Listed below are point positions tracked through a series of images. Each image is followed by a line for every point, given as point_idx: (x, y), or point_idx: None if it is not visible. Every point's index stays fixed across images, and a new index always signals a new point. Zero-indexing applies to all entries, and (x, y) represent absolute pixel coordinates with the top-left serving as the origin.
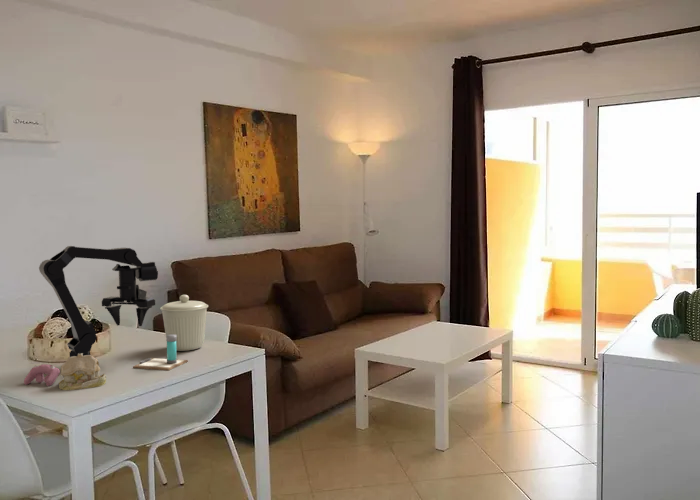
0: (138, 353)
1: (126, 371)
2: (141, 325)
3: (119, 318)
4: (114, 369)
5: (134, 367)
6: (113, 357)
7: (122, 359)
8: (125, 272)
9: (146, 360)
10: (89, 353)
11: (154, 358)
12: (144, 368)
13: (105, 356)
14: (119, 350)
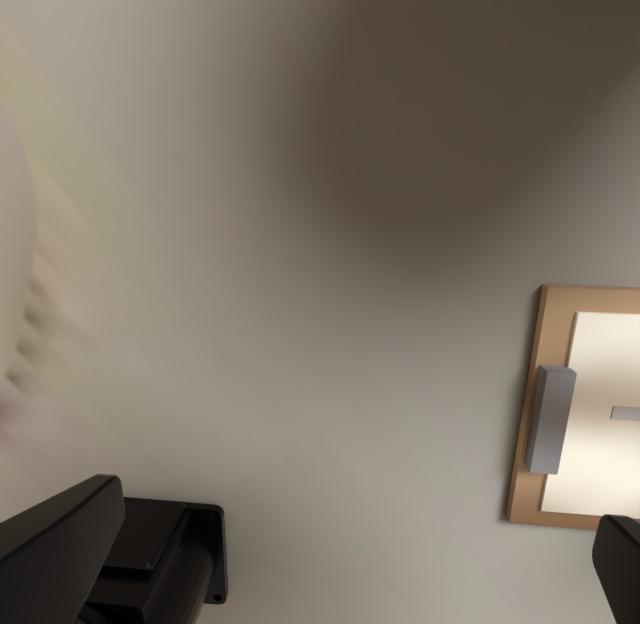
0: (281, 92)
1: (503, 578)
2: (629, 531)
3: (20, 565)
4: (397, 547)
5: (520, 518)
6: (169, 268)
7: (281, 313)
8: None
9: (565, 426)
10: (160, 580)
11: (578, 316)
12: None
13: (86, 250)
14: (31, 15)
